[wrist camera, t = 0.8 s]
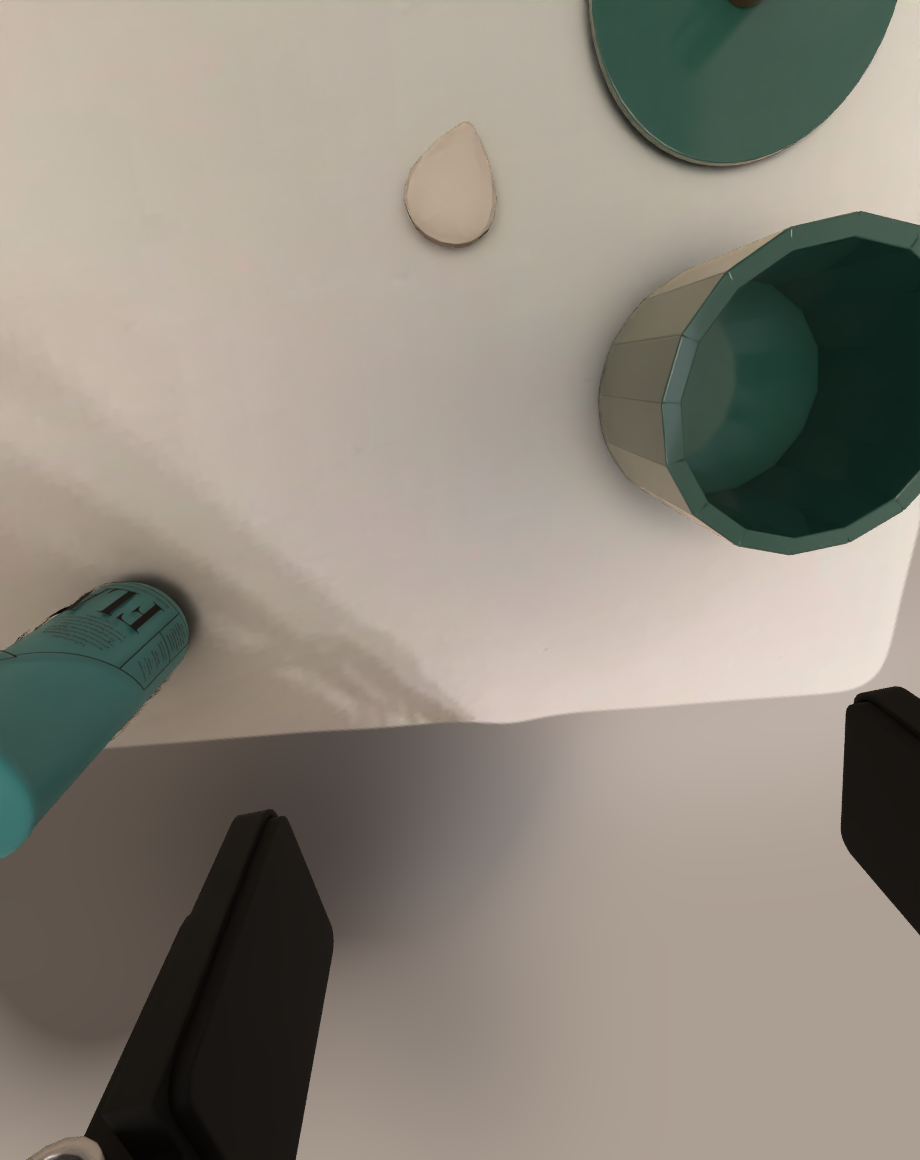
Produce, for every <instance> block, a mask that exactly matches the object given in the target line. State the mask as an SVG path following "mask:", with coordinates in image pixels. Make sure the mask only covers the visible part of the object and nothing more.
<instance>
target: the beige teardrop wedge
mask: <svg viewBox="0 0 920 1160" xmlns="http://www.w3.org/2000/svg"><path fill="white" fill-rule="evenodd" d="M496 199H497V198H496V193H495V187H494V181H493V177H492V174H491V170H490V166H489V163H488V159H487V157H486V154H485V151H484V148H483V146H482V143H481V141H480V139H479V137H478V135H477V133H476V130H475V128H474V126H473V125H472V124H471V123H470V122H463V123H461V124H460V125H458V126H457V127H455V128H453V129H452V130H450V131H449V132H447V133H446V134H445V135H443V136H442V137H441V138H439V139H438V140H437V141H436V142H435V143H434V144H433V145H432V146H431V147H430V148H429V149H428V150H427V151H426V152H425V153H424V154H423V155H422V156H421V157H420V158H419V160H418V161H417V162H416V163H415V165H414V166H413V167H412V168H411V170H410V173H409V176H408V179H407V181H406V184H405V197H404V201H405V206H406V208H407V211H408V214H409V216H410V219H411V220H412V222H413V224H414V226H415V228H416V229H417V230H418V231H419V232H420V233H421V234H422V235H423V236H424V237H425V238H427V239H429V240H431V241H433V242H434V243H436V244H438V245H440V246H447V247H454V248H457V247H462V246H468V245H470V244H472V243H473V242H475V241H477V240H478V239H479V238H481V237H482V236H483V235H484V234H485V233H486V232H487V231H488V229H489V227H490V224H491V222H492V220H493V217H494V214H495V207H496Z"/></svg>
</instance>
